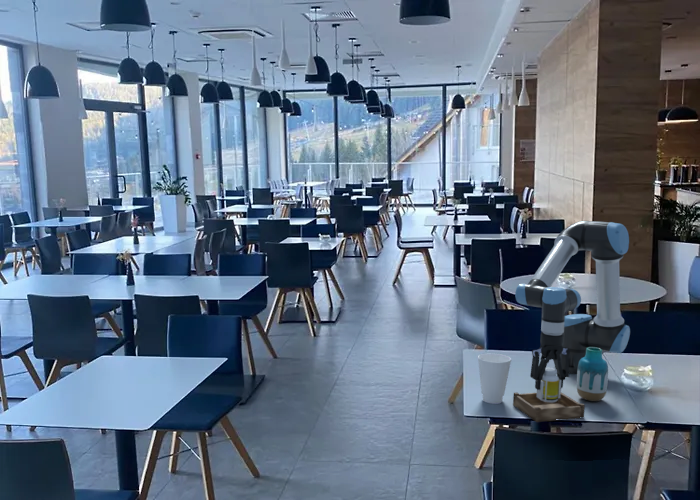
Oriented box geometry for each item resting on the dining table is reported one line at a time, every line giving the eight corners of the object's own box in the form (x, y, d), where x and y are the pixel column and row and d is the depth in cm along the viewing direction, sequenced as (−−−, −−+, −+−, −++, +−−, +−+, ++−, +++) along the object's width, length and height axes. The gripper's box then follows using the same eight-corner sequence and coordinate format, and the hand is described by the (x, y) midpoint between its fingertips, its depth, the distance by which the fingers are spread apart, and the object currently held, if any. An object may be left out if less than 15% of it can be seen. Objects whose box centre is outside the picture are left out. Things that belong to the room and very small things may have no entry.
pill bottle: (559, 399, 232) (561, 368, 230) (554, 404, 227) (556, 373, 225) (542, 395, 235) (544, 365, 234) (536, 400, 230) (538, 369, 229)
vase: (570, 394, 249) (574, 345, 246) (598, 394, 250) (601, 344, 247) (583, 405, 238) (586, 353, 236) (611, 404, 239) (615, 353, 237)
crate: (557, 401, 242) (558, 389, 241) (583, 417, 226) (584, 404, 226) (513, 405, 237) (513, 392, 236) (536, 422, 222) (537, 408, 221)
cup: (502, 408, 233) (504, 364, 231) (470, 401, 240) (472, 358, 238) (513, 398, 243) (515, 356, 241) (482, 392, 250) (484, 351, 248)
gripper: (570, 328, 234) (566, 392, 237) (521, 331, 229) (518, 395, 232) (583, 334, 227) (578, 399, 230) (532, 336, 222) (529, 403, 225)
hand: (548, 397), depth 231 cm, fingers closed on pill bottle, 6 cm apart
